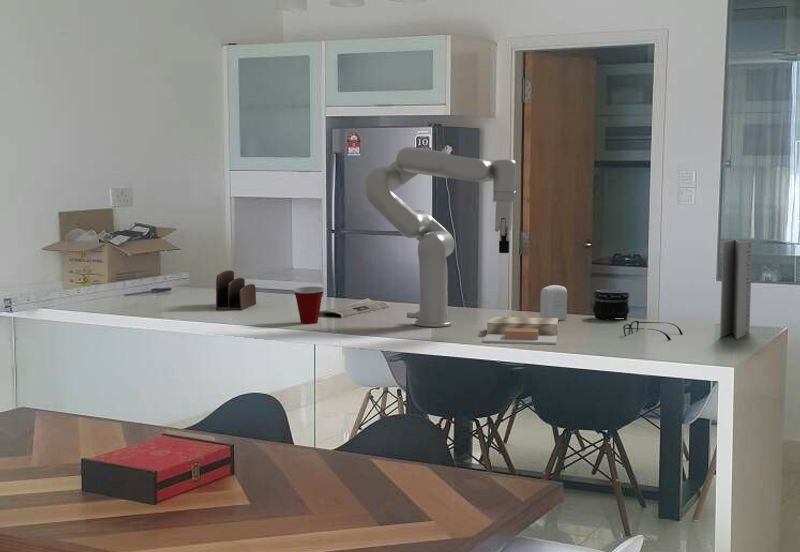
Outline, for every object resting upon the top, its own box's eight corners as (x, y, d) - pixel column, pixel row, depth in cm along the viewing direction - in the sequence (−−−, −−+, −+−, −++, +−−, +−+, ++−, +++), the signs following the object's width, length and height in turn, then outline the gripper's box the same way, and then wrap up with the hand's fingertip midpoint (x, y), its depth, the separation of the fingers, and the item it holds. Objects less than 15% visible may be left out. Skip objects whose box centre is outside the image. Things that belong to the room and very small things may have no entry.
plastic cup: (287, 324, 366) (287, 289, 365) (302, 319, 376) (301, 286, 375) (316, 325, 362) (315, 290, 361) (329, 321, 372) (329, 287, 371)
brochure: (737, 338, 333) (740, 242, 330) (719, 337, 336) (722, 241, 333) (749, 332, 345) (752, 240, 342) (732, 331, 348) (734, 239, 345)
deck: (487, 335, 341) (487, 322, 340) (490, 328, 354) (490, 316, 354) (557, 336, 337) (557, 324, 337) (557, 330, 351) (558, 318, 351)
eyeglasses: (636, 331, 351) (636, 319, 351) (684, 335, 343) (685, 322, 343) (620, 338, 337) (620, 325, 337) (670, 342, 329) (670, 329, 329)
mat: (483, 342, 326) (483, 340, 325) (486, 335, 339) (486, 333, 339) (556, 344, 322) (556, 342, 322) (557, 337, 336) (557, 335, 336)
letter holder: (215, 310, 403) (215, 273, 402) (232, 304, 423) (231, 268, 421) (241, 311, 401) (240, 273, 400) (256, 304, 421) (256, 268, 420)
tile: (506, 328, 335) (506, 335, 336) (505, 331, 328) (505, 339, 329) (538, 328, 334) (538, 336, 334) (538, 332, 327) (538, 339, 327)
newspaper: (341, 319, 380) (341, 309, 380) (312, 317, 387) (312, 307, 386) (392, 308, 411) (392, 299, 410) (364, 306, 417) (364, 297, 417)
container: (613, 315, 388) (614, 288, 387) (637, 319, 377) (637, 291, 376) (585, 317, 382) (585, 289, 381) (607, 322, 371) (608, 293, 370)
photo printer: (560, 318, 379) (560, 283, 378) (568, 320, 376) (569, 284, 375) (538, 320, 374) (538, 285, 373) (546, 322, 370) (546, 286, 369)
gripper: (494, 196, 360) (494, 251, 361) (491, 197, 345) (490, 254, 347) (517, 196, 358) (516, 251, 360) (514, 197, 344) (514, 254, 345)
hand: (504, 252), depth 353 cm, fingers closed
